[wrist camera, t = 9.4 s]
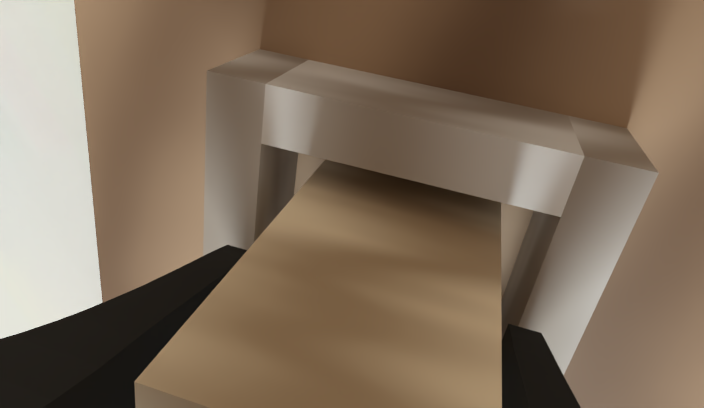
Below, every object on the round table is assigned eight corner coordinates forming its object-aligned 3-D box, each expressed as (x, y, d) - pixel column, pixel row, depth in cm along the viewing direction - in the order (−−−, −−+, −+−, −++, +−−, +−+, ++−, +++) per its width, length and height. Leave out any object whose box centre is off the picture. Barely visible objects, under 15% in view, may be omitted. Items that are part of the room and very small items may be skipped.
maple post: (500, 187, 12) (501, 508, 5) (456, 320, 14) (413, 690, 7) (336, 146, 13) (134, 381, 6) (315, 278, 14) (142, 580, 7)
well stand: (1037, -102, 9) (1331, -131, 6) (617, 529, 17) (643, 655, 14) (85, -229, 11) (-66, -295, 8) (127, 366, 20) (59, 442, 17)
